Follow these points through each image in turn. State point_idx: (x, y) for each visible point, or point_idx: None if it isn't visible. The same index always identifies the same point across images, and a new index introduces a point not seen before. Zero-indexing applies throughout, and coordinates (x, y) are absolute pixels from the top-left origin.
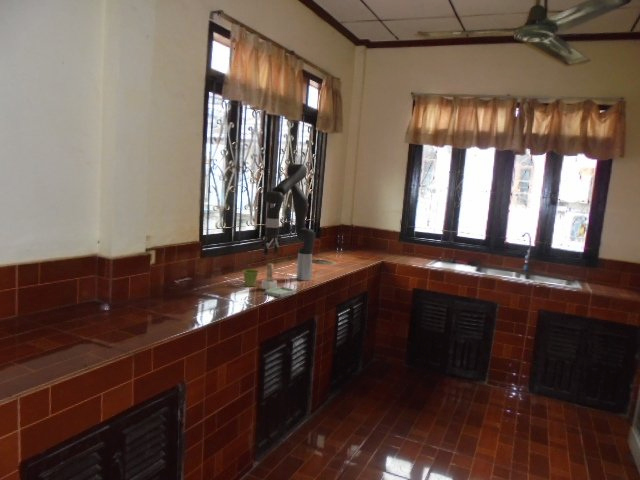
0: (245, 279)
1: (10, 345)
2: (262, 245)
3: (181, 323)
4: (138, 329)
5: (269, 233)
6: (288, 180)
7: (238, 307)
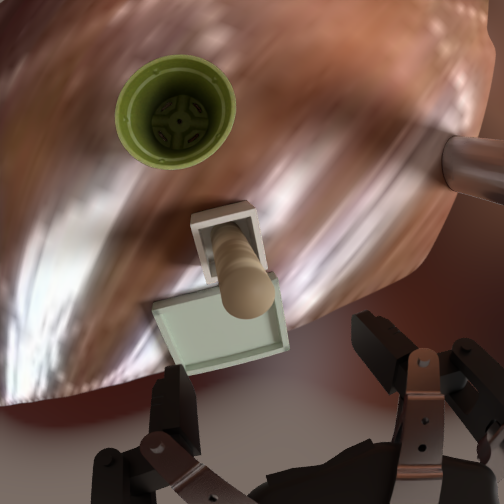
0: (140, 119)
1: None
2: (105, 476)
3: None
4: None
5: None
6: None
7: (26, 377)
